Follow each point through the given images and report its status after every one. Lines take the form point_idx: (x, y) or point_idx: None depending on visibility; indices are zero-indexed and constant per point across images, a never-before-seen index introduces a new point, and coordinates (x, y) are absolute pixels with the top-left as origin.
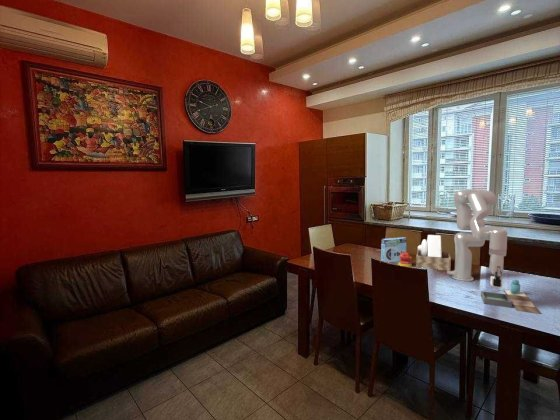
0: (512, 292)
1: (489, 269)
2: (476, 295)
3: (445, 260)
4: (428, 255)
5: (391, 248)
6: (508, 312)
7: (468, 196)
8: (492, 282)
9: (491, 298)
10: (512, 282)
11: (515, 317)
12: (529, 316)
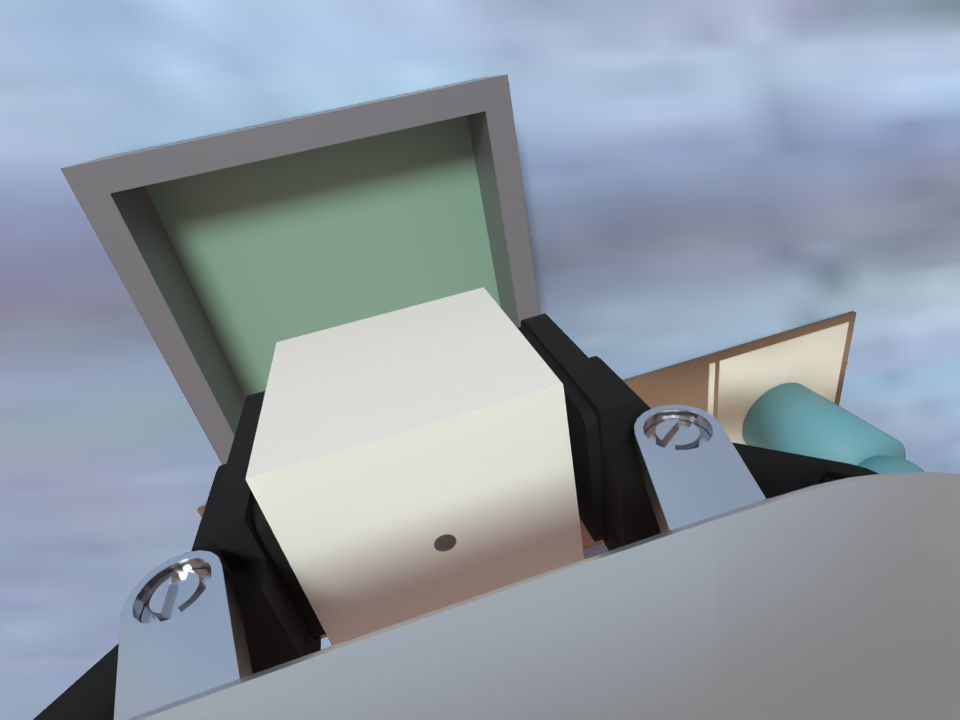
0: (762, 405)
1: (803, 495)
2: (476, 6)
3: None
4: None
5: None
6: (29, 463)
7: None
8: (269, 408)
9: (432, 238)
10: (883, 466)
11: None
12: (108, 609)
